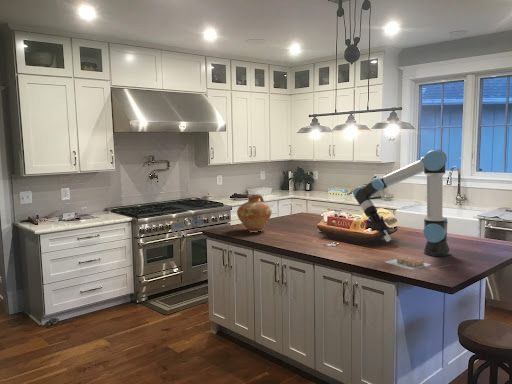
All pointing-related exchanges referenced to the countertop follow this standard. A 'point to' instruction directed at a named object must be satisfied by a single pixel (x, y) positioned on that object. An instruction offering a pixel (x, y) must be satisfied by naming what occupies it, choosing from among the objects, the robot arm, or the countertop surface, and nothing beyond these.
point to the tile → (410, 261)
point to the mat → (405, 265)
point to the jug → (254, 213)
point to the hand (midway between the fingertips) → (388, 240)
